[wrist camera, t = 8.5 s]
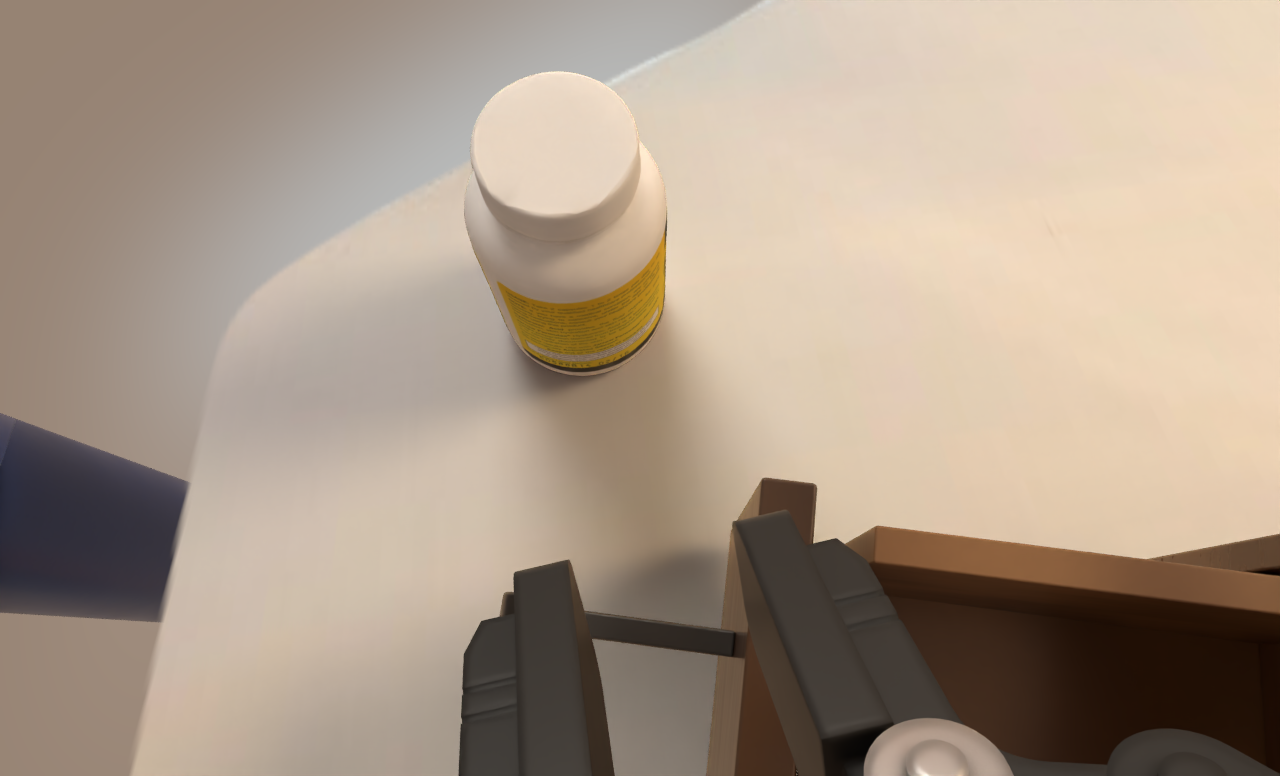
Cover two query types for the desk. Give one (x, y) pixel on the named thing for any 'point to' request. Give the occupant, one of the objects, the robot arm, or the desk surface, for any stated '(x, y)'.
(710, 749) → the drawer
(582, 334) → the supplement bottle
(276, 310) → the desk surface
